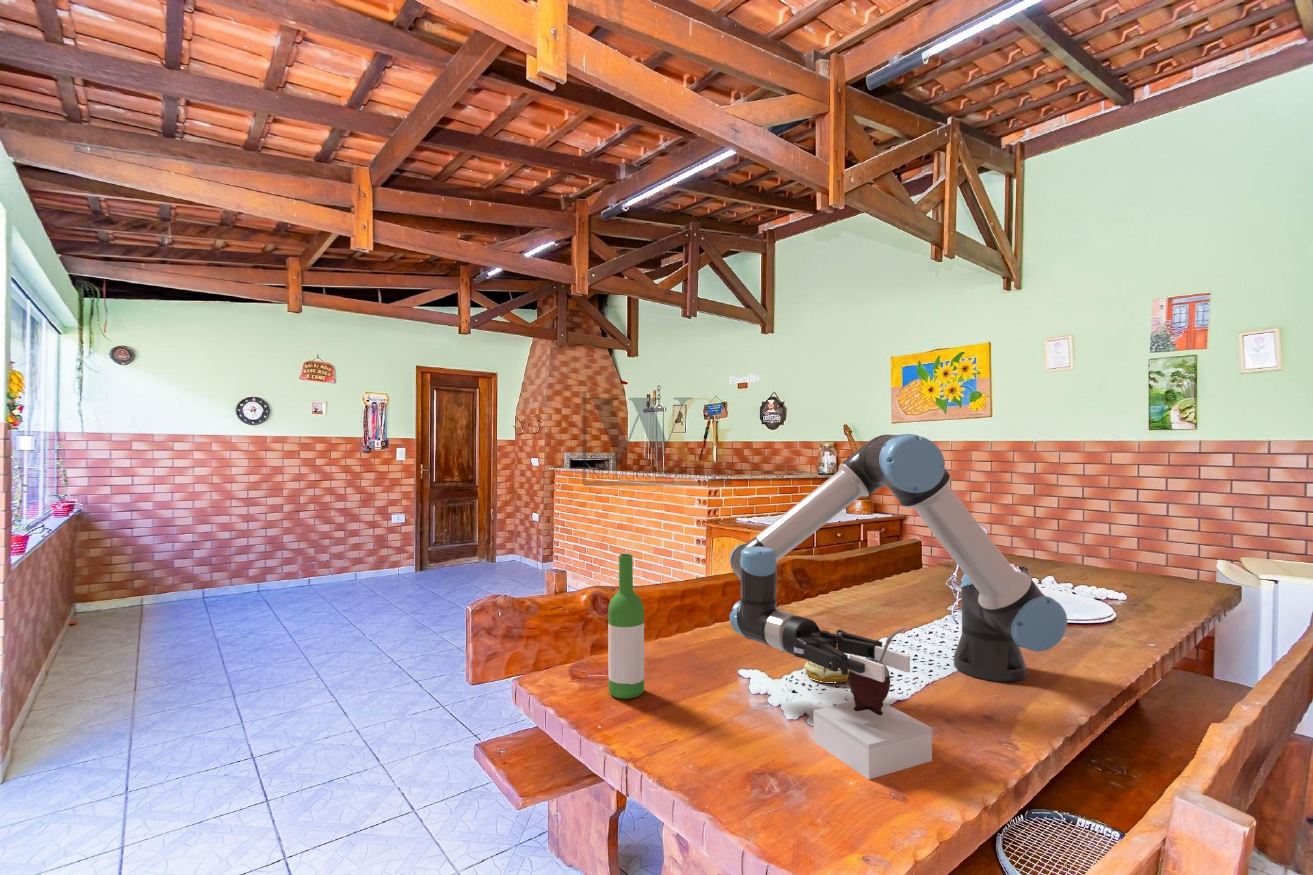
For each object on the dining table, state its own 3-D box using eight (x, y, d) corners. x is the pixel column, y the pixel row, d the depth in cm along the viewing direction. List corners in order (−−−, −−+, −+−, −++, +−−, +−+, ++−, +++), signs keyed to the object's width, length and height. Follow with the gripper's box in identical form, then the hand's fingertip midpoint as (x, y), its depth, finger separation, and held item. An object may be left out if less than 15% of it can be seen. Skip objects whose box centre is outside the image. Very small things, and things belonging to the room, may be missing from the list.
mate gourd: (839, 703, 113) (841, 619, 113) (873, 696, 116) (875, 615, 116) (868, 720, 106) (870, 631, 106) (904, 713, 110) (906, 627, 110)
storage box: (813, 742, 115) (813, 710, 115) (872, 727, 121) (872, 696, 121) (868, 781, 102) (868, 744, 102) (932, 762, 108) (931, 727, 108)
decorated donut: (795, 673, 148) (795, 657, 148) (833, 666, 152) (833, 650, 152) (823, 689, 138) (823, 672, 138) (862, 681, 142) (862, 664, 142)
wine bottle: (610, 685, 140) (609, 551, 140) (645, 686, 140) (644, 551, 140) (606, 700, 133) (605, 558, 133) (643, 700, 132) (642, 558, 132)
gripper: (825, 643, 132) (928, 677, 113) (758, 663, 120) (860, 705, 101) (825, 607, 131) (928, 635, 113) (758, 624, 120) (860, 658, 101)
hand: (896, 668), depth 107 cm, fingers closed on mate gourd, 7 cm apart
